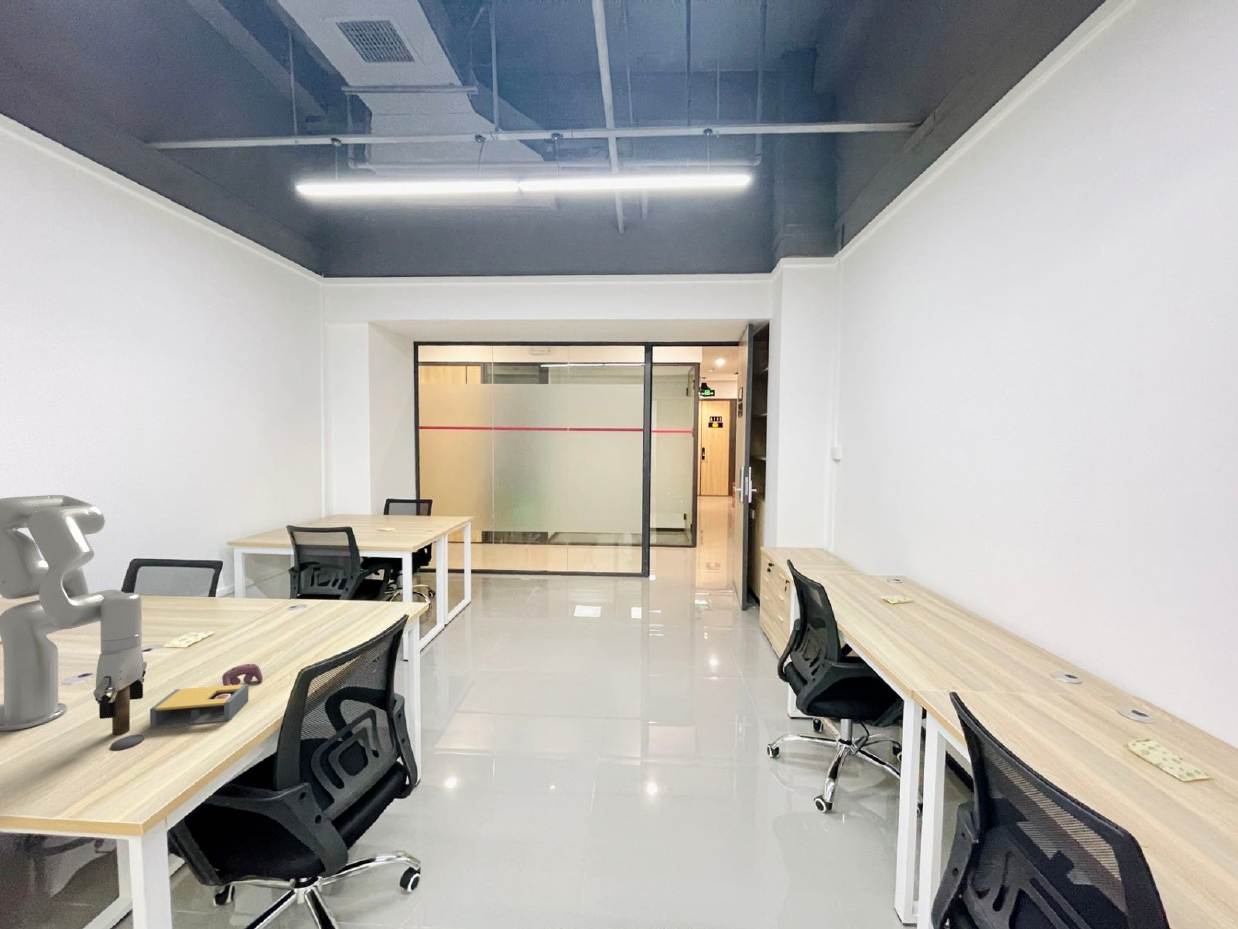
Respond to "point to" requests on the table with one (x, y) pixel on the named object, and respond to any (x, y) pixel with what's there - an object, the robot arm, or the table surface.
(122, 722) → the brown tall bar piece
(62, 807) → the table surface
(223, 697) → the breaker button
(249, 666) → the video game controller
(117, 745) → the rubber pad
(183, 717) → the tan flat boxy piece
